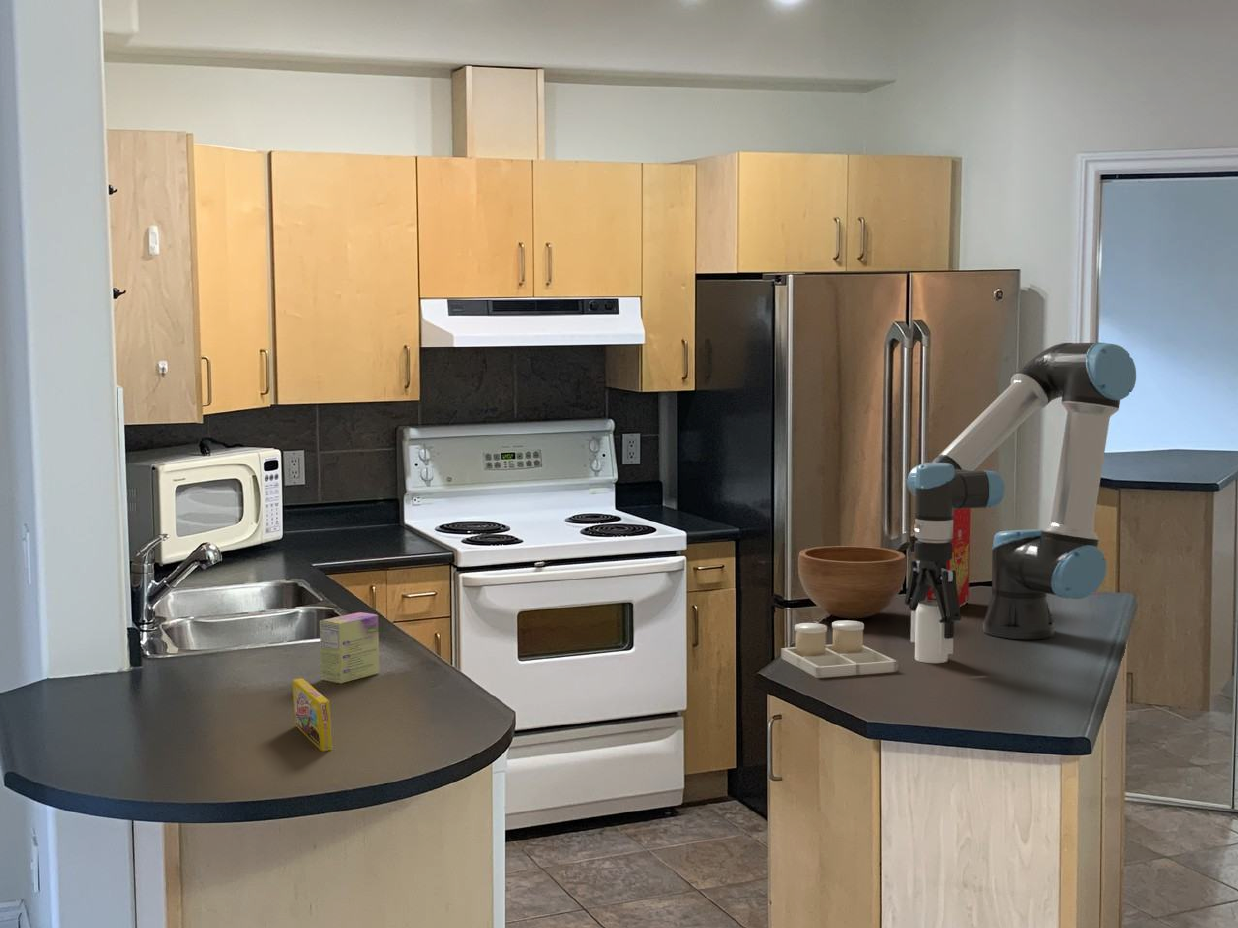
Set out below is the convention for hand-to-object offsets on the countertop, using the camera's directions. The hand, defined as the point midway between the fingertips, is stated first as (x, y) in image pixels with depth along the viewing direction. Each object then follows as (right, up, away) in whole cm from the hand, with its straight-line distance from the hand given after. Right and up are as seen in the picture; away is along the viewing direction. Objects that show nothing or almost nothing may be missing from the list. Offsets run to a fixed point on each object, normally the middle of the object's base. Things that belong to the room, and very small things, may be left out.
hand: (931, 647), depth 275 cm
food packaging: (+17, +2, +55) cm, 58 cm away
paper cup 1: (-25, -3, -1) cm, 25 cm away
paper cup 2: (-17, -2, +1) cm, 17 cm away
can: (0, -3, 0) cm, 3 cm away
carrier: (-20, -3, -4) cm, 20 cm away
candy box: (-114, -8, -52) cm, 125 cm away
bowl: (-9, +1, +43) cm, 44 cm away
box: (-116, -4, -12) cm, 116 cm away
